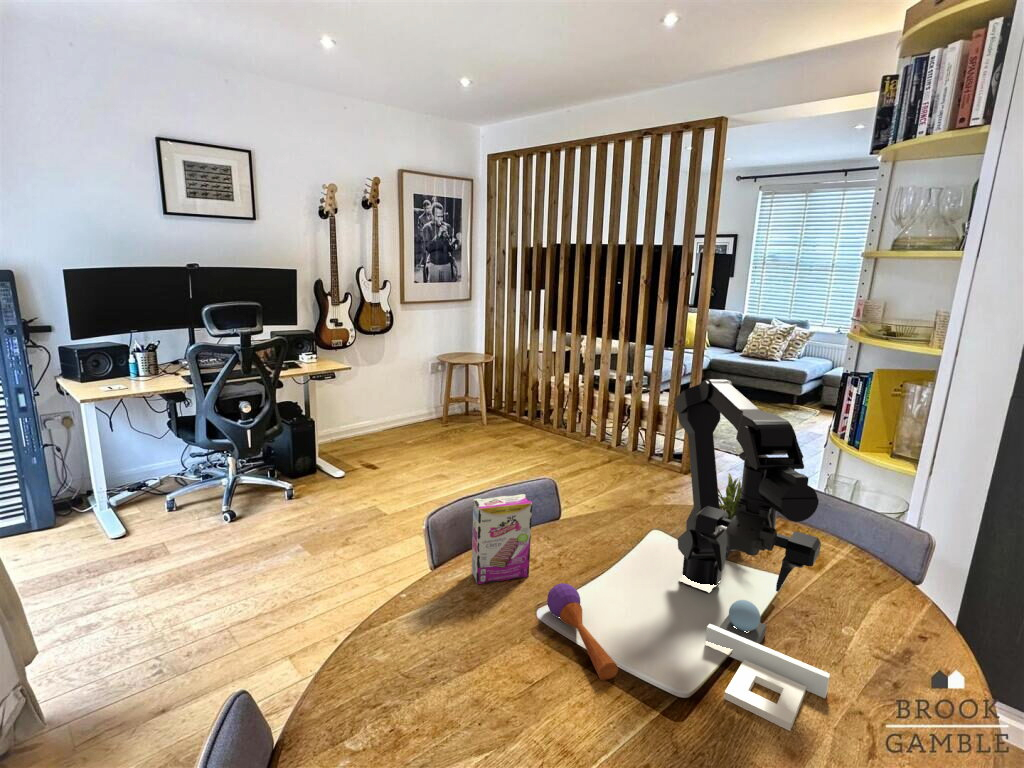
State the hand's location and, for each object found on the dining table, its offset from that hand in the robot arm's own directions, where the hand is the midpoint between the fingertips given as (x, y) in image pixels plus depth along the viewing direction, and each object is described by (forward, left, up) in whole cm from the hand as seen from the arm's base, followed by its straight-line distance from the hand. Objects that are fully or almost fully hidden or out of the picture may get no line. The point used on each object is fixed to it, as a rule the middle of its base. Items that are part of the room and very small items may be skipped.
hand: (748, 580), depth 94 cm
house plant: (-14, +32, -11) cm, 36 cm away
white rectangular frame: (+7, -12, -11) cm, 18 cm away
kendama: (-21, -19, -11) cm, 30 cm away
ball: (0, 0, -7) cm, 7 cm away
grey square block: (0, 0, -11) cm, 11 cm away
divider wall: (+5, -6, -11) cm, 13 cm away
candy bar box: (-44, -13, -11) cm, 47 cm away
